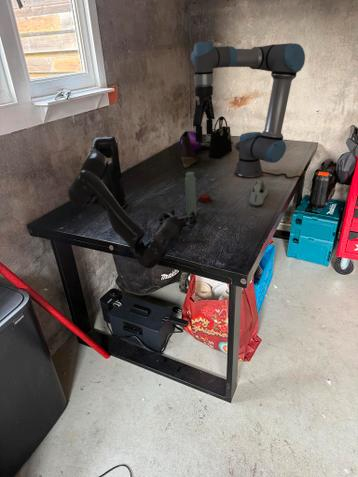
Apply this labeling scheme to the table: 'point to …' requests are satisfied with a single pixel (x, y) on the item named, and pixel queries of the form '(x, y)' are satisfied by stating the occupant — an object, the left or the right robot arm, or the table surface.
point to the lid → (204, 198)
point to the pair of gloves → (207, 142)
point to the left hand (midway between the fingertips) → (183, 212)
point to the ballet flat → (258, 193)
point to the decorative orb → (192, 141)
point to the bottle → (190, 193)
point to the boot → (187, 151)
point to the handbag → (220, 140)
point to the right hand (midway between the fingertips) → (204, 138)
